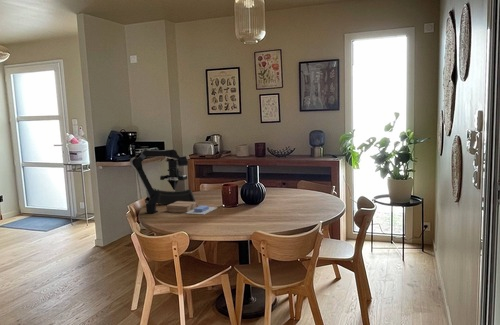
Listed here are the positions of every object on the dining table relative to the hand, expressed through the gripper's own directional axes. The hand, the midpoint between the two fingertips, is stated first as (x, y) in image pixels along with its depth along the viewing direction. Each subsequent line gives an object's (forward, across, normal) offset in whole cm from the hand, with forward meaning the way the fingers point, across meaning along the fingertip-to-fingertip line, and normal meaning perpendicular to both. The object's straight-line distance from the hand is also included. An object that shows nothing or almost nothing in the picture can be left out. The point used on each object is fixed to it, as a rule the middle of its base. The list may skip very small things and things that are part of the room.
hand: (174, 189), depth 278 cm
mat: (+13, -22, +2) cm, 26 cm away
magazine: (+13, +10, -12) cm, 20 cm away
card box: (+11, -22, +2) cm, 25 cm away
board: (+13, -7, +2) cm, 15 cm away
